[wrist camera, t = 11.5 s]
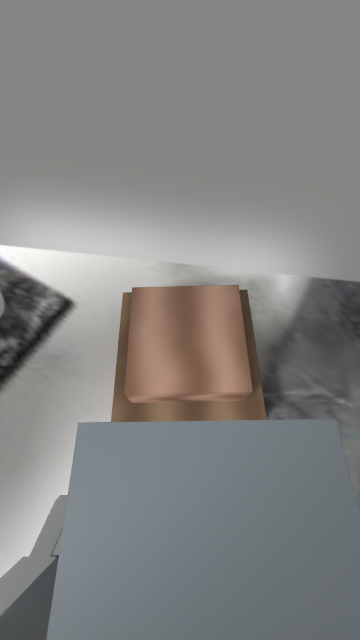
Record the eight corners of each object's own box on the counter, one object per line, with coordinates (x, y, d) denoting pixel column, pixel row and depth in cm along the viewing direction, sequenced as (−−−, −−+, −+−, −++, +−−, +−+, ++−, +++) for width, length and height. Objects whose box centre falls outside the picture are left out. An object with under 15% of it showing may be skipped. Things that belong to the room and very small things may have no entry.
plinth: (119, 428, 33) (100, 416, 26) (128, 308, 40) (116, 273, 33) (258, 425, 33) (277, 413, 26) (241, 305, 40) (253, 270, 33)
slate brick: (138, 581, 12) (9, 890, 3) (143, 451, 14) (78, 422, 6) (255, 580, 12) (457, 890, 3) (242, 450, 14) (335, 419, 5)
